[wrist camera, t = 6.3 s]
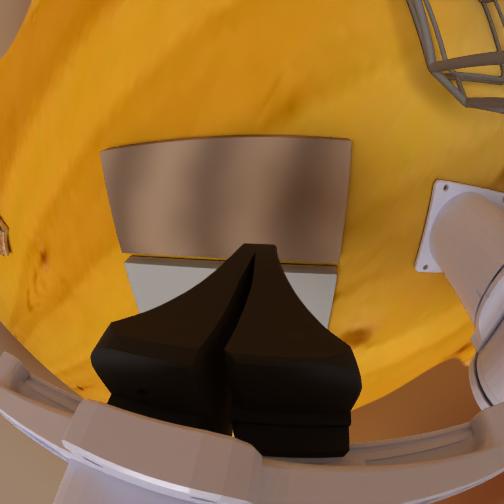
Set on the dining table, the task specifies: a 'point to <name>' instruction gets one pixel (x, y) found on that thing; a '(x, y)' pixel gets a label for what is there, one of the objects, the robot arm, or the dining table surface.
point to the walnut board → (230, 195)
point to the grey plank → (194, 271)
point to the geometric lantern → (459, 59)
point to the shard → (3, 239)
